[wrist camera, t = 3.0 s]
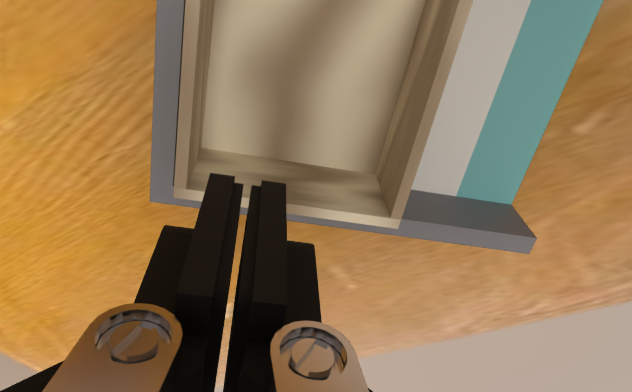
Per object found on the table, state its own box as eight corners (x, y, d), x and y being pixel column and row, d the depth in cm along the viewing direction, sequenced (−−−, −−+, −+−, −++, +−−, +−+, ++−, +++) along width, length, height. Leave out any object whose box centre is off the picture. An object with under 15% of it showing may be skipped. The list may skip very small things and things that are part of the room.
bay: (624, -72, 26) (689, -68, 22) (499, 211, 35) (529, 253, 31) (187, -177, 23) (163, -198, 19) (168, 162, 32) (149, 201, 28)
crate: (455, -74, 25) (496, -70, 20) (380, 180, 32) (398, 229, 27) (214, -129, 23) (194, -141, 18) (192, 151, 30) (173, 197, 25)
